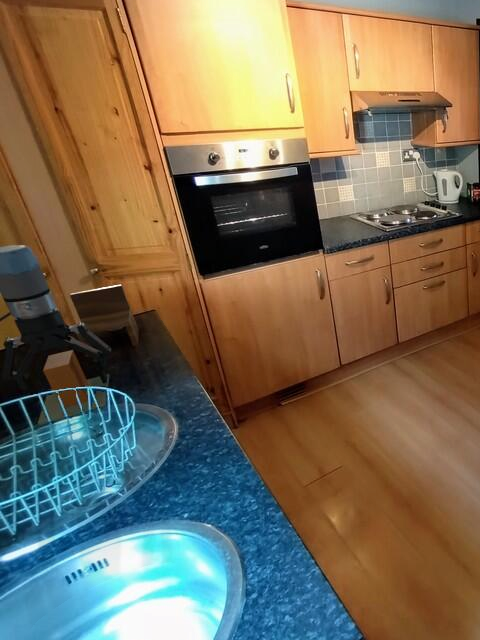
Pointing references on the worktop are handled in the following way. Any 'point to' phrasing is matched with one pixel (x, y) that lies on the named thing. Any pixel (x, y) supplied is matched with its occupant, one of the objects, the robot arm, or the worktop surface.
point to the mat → (57, 413)
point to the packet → (66, 377)
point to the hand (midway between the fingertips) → (72, 389)
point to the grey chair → (105, 311)
